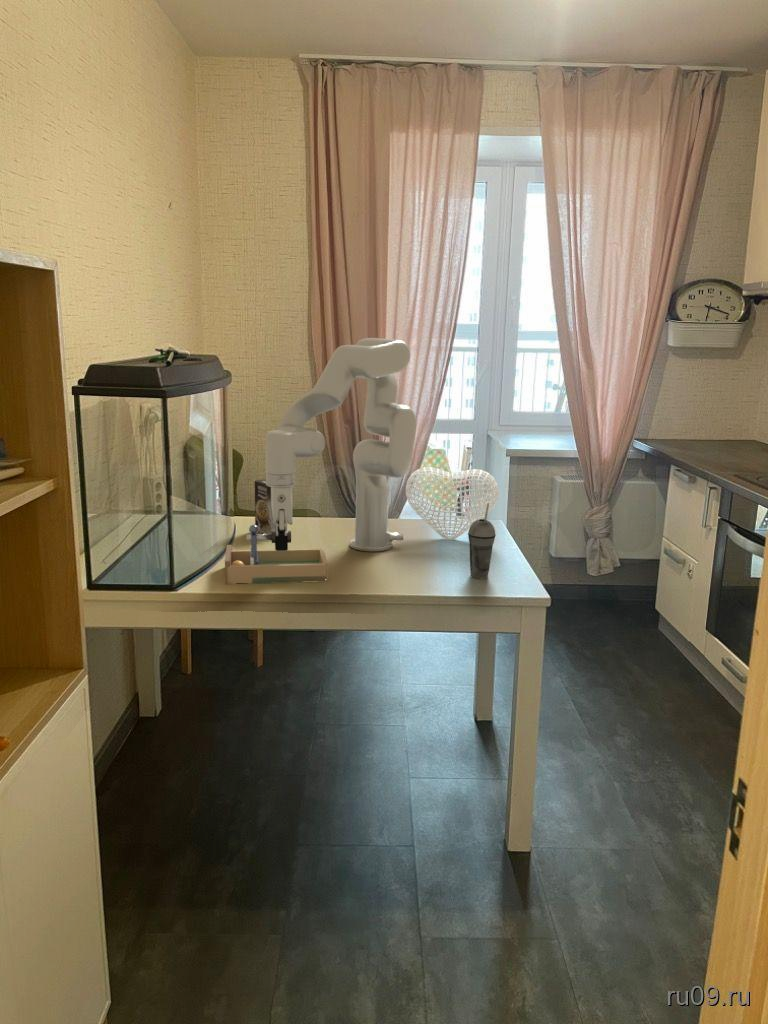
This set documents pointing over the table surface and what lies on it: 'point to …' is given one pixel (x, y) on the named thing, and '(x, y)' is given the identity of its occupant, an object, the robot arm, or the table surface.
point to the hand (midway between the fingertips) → (281, 547)
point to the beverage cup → (481, 546)
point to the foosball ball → (237, 563)
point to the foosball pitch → (276, 566)
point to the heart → (448, 474)
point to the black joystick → (259, 537)
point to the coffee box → (263, 507)
